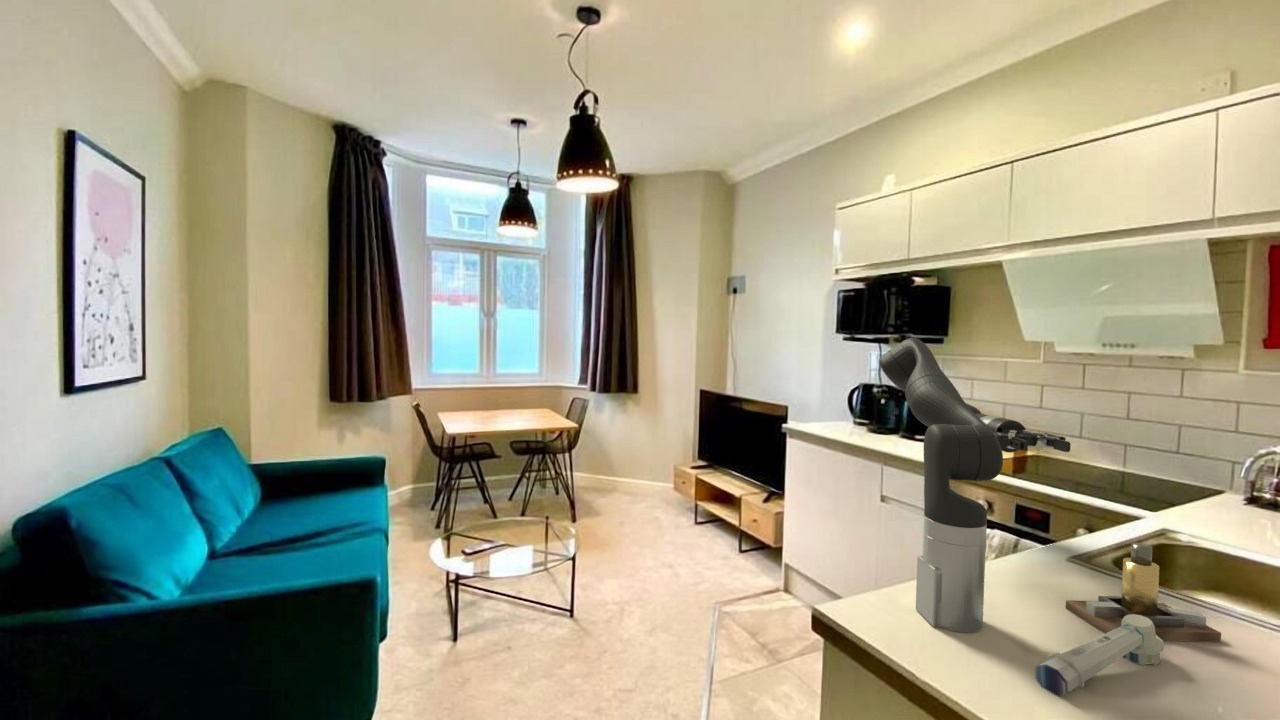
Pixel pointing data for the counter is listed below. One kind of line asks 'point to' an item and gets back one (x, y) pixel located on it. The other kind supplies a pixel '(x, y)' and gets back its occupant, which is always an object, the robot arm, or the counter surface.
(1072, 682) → the grey long angled piece
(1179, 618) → the collar and shafts
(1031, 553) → the counter surface
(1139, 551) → the gold perfume bottle
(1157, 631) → the walnut plate
